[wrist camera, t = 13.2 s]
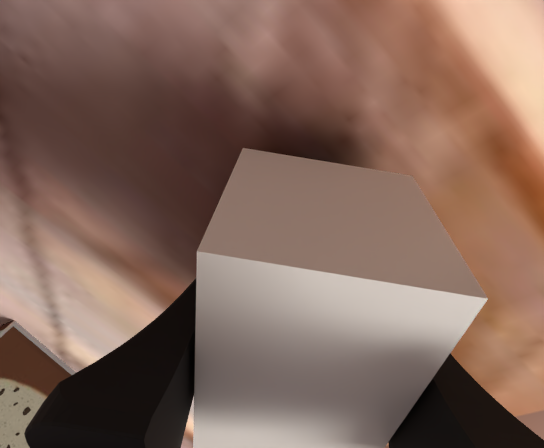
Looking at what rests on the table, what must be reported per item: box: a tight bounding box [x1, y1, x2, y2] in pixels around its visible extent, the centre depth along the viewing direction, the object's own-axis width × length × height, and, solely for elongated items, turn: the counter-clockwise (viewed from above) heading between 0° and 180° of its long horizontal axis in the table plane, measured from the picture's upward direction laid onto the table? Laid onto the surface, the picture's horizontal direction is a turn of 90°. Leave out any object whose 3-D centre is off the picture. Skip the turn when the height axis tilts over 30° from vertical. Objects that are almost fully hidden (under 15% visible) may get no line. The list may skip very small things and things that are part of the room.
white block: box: [193, 148, 488, 448], centre depth 12 cm, size 6×10×6 cm, turn 172°
